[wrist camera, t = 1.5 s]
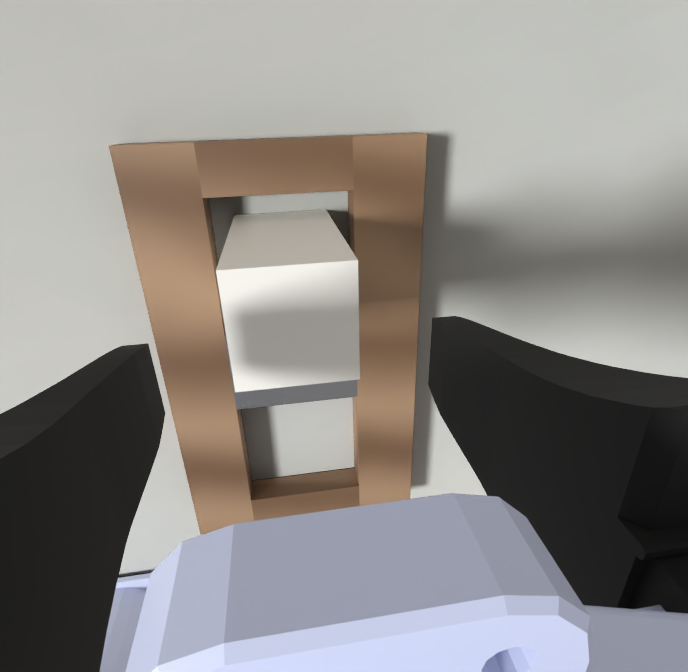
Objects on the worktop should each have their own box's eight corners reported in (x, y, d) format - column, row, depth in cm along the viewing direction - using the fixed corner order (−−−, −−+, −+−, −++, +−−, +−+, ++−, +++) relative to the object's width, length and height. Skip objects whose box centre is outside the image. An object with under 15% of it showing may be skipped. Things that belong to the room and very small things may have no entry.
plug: (329, 294, 22) (359, 379, 15) (245, 301, 21) (235, 392, 14) (326, 209, 20) (357, 260, 13) (234, 215, 20) (215, 270, 13)
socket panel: (402, 486, 28) (409, 504, 27) (203, 513, 27) (200, 534, 25) (416, 132, 19) (427, 133, 18) (120, 143, 18) (108, 145, 16)
